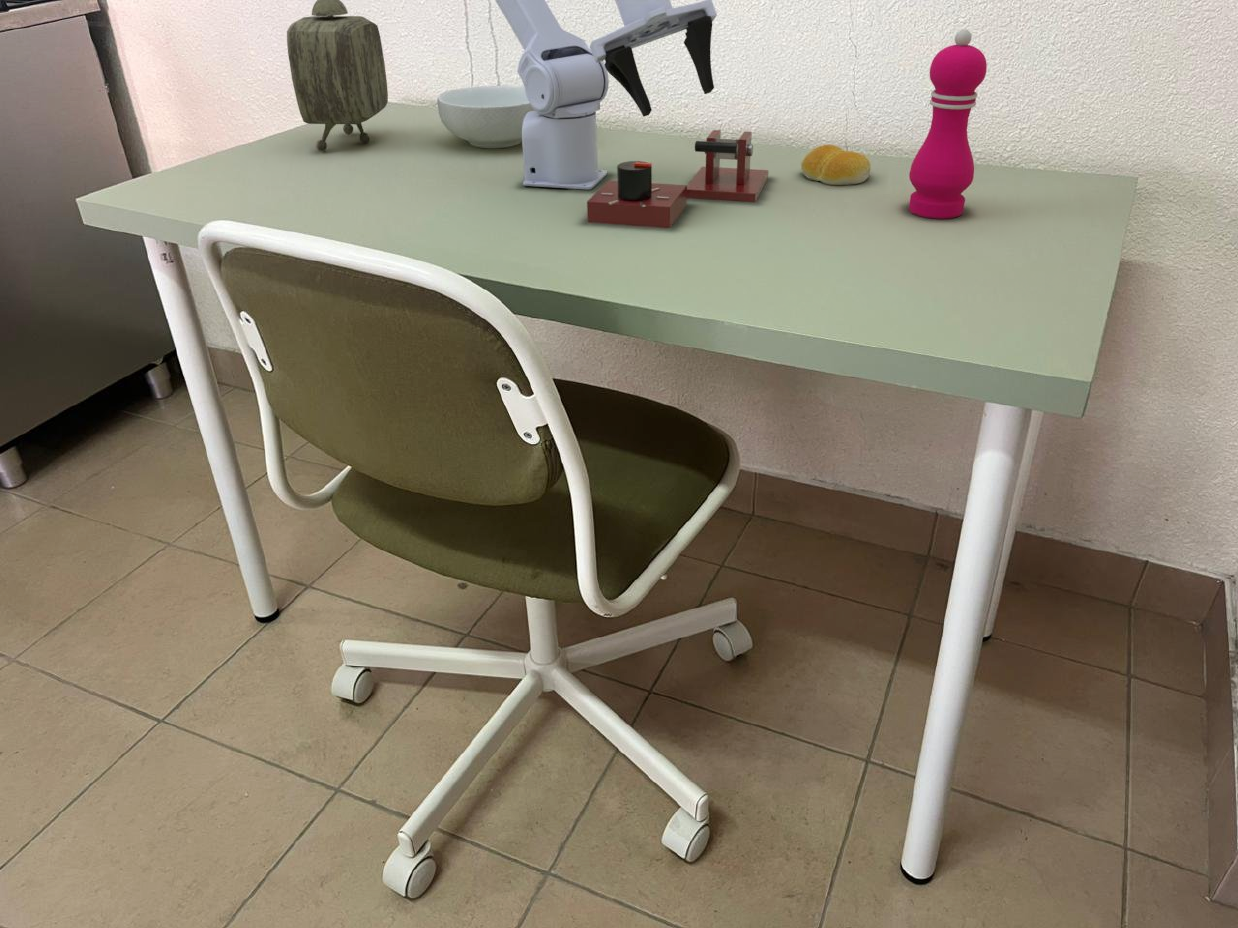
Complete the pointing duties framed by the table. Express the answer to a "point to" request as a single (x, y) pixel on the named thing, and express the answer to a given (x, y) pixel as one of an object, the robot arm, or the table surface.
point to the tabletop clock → (337, 69)
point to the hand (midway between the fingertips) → (678, 102)
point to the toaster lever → (719, 148)
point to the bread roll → (835, 166)
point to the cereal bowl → (485, 114)
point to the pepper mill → (948, 132)
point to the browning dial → (634, 180)
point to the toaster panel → (638, 206)
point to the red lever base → (728, 175)
